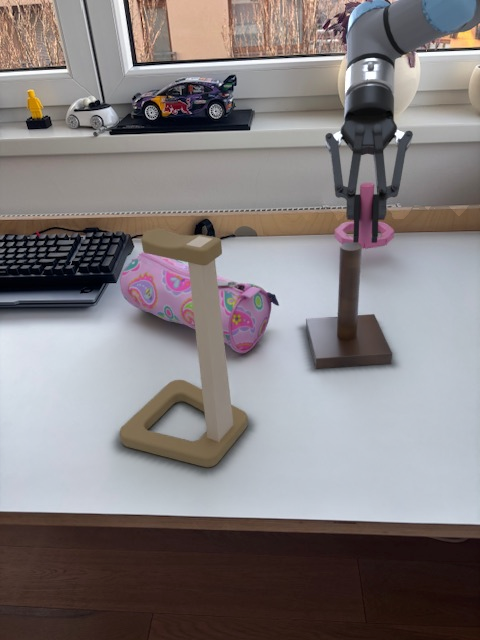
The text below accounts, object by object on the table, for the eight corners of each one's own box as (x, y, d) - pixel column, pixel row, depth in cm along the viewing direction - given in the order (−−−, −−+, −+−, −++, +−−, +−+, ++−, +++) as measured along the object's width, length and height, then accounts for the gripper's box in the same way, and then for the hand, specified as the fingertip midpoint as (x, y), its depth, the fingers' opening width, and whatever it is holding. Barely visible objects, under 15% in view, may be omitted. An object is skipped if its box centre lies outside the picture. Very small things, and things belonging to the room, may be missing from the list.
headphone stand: (176, 385, 63) (147, 205, 52) (258, 414, 58) (247, 221, 47) (115, 443, 56) (66, 247, 44) (203, 481, 51) (174, 271, 39)
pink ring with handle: (333, 249, 85) (334, 187, 80) (335, 226, 93) (336, 167, 88) (395, 250, 83) (400, 186, 78) (392, 226, 91) (396, 166, 86)
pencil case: (281, 333, 71) (279, 272, 67) (236, 368, 66) (231, 303, 61) (168, 291, 84) (160, 236, 79) (122, 316, 78) (110, 259, 73)
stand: (373, 323, 72) (380, 228, 65) (391, 363, 64) (401, 260, 57) (305, 328, 72) (305, 233, 65) (315, 368, 65) (316, 266, 57)
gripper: (319, 84, 83) (312, 229, 78) (422, 79, 80) (422, 229, 75) (321, 114, 90) (315, 247, 85) (416, 110, 87) (415, 248, 82)
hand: (365, 238), depth 80 cm, fingers closed on pink ring with handle, 2 cm apart
